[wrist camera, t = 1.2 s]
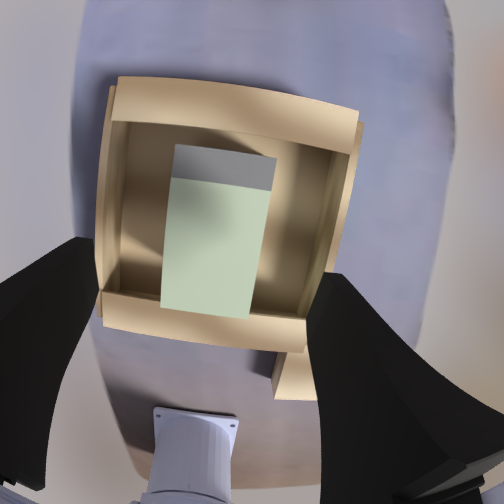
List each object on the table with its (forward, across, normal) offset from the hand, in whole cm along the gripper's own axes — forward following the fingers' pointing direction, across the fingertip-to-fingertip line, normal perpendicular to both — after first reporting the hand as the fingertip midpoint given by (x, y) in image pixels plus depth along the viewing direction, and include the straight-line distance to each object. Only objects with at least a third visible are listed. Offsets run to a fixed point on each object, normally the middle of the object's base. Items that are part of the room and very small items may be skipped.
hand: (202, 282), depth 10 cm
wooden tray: (+11, 0, +3) cm, 12 cm away
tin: (+11, 0, +3) cm, 11 cm away
